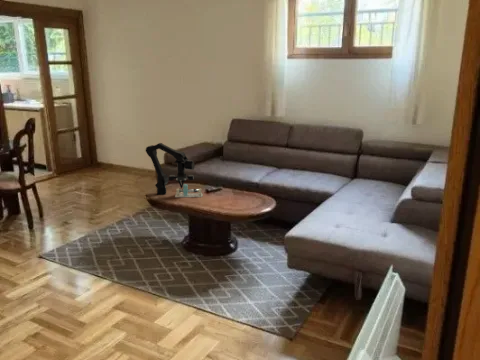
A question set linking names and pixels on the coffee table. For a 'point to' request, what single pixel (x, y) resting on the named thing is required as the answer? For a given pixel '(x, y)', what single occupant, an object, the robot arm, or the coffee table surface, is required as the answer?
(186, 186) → the collar
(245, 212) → the coffee table surface
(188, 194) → the pipe rig
